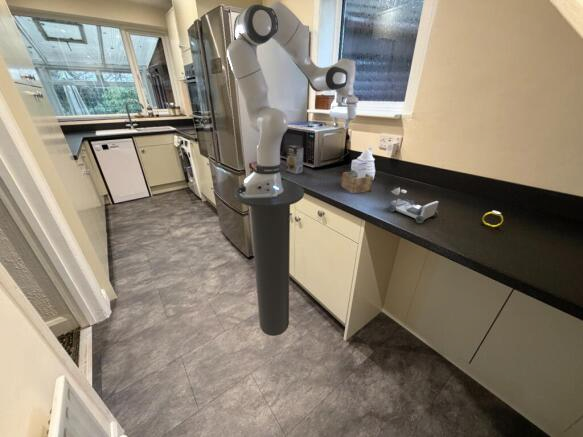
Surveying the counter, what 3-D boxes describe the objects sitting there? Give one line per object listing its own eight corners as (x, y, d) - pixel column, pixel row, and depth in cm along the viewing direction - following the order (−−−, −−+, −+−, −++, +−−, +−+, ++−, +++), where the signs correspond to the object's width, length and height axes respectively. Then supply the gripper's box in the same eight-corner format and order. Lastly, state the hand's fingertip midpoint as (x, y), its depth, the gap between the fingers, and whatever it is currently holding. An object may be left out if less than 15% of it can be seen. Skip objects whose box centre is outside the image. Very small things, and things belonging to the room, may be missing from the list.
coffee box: (286, 170, 152) (286, 145, 145) (293, 169, 156) (293, 144, 149) (295, 174, 146) (296, 148, 139) (302, 172, 150) (303, 146, 143)
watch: (479, 224, 92) (485, 210, 89) (480, 221, 94) (486, 208, 91) (498, 229, 88) (505, 215, 85) (499, 226, 90) (506, 213, 87)
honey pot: (362, 173, 150) (367, 144, 141) (378, 178, 140) (384, 148, 132) (347, 176, 144) (351, 146, 135) (363, 182, 134) (368, 150, 126)
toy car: (387, 187, 99) (403, 182, 105) (383, 207, 104) (398, 202, 110) (429, 201, 86) (444, 195, 92) (421, 224, 91) (437, 217, 97)
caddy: (352, 193, 119) (354, 178, 115) (341, 186, 128) (342, 172, 124) (370, 191, 122) (373, 176, 118) (358, 184, 131) (360, 170, 128)
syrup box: (363, 188, 123) (368, 161, 117) (355, 190, 121) (359, 162, 114) (356, 184, 128) (360, 158, 121) (348, 186, 125) (351, 159, 119)
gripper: (328, 98, 123) (325, 126, 129) (348, 98, 106) (345, 131, 112) (338, 98, 125) (336, 125, 131) (360, 98, 108) (356, 130, 114)
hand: (340, 128), depth 121 cm, fingers open, 8 cm apart
